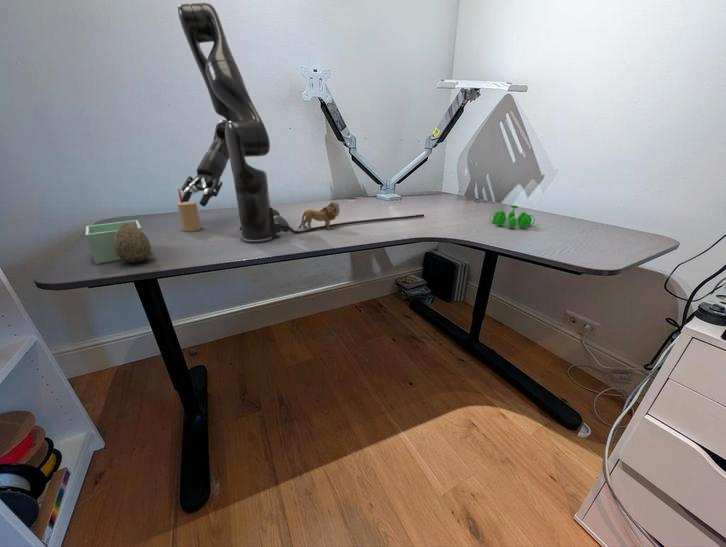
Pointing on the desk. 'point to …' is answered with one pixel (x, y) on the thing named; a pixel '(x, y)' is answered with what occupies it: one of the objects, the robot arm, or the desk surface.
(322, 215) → the lion figurine
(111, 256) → the bin
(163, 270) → the desk surface
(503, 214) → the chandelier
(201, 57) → the robot arm
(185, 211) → the paper cup
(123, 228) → the decorative egg
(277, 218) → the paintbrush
